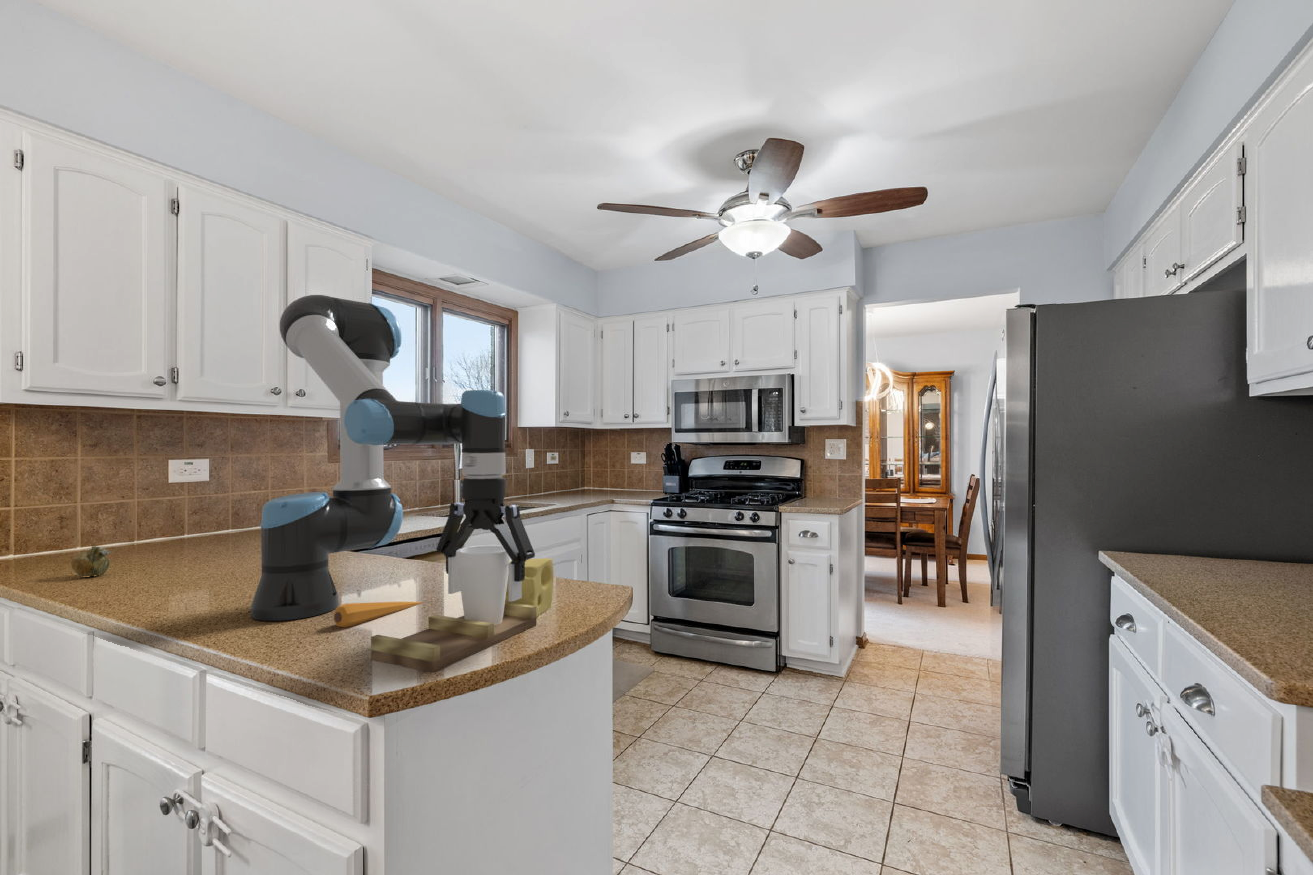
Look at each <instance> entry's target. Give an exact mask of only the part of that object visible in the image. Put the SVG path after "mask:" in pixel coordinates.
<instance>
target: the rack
mask: <svg viewBox="0 0 1313 875" xmlns="http://www.w3.org/2000/svg"><path fill="white" fill-rule="evenodd" d="M535 625H536V626H537V618H536V606H532V605H524V604H516V603H509V602H505V605H504V613H503V618H502V622H501V623H500V624H498V625H495V626H494V623H487V622H480V621H474V620H467V619H465V617H464V615H461V616H459V617H453V616H452V617H451V616H445V615H441V614H439V615H438V614H432V615H430V616H428V628H426V629H424V630H421V631H418V632H415V633H413V634H409V635H407V636H405V637H403V638H398V637H393V636H388V635H381V634H375V635H372V636H370V660H371V661H378V662H381V663H382V662H383V663H386V664H387V663H388V664H391V665H396V666H401V667H407V668H413V669H415V670H416V669H417V670H421V671H427V672H430V673H431V672H432V673H436V672H437V671H438V672H439V671H440V670H442V669H443V668H446V667H448V666H451V665H452V664H455V663H457V662H459V661H461V660H464V659H466V658H468V657H470V656H472V655H474V654H477V653H478V652H481V651H483V650H486V649H487V648H489V647H491V646H494V645H496V644H499V643H500V642H504V641H505V640H507V639H510V638H511V637H514V636H515V635H518V634H520V633H522V632H524V630H525V631H527V630H529V629H531V628H534V627H536V626H535ZM533 626H534V627H533ZM526 629H527V630H526Z"/></svg>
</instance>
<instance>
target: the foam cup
mask: <svg viewBox="0 0 1313 875" xmlns="http://www.w3.org/2000/svg"><path fill="white" fill-rule="evenodd" d="M510 562H511V558H510V557H509V555H508V554H507V552H506V551H505V549H504V547H503V546H502V544H501V545H499V544H487V545H486V544H485V545H484V544H482V545H471V546H465V547H462V548H461V549H458V550H457V551H456V565H457V567H458V574H459V581H460V589H461V591H460V595H461V601H462V609H463V616H464V617H465V619H467V620H474V621H480V622H487V623H494V626H495V625H498V624H500V623H501V622H502V618H503V613H504V605H505V597H506V589H507V581H508V563H510Z"/></svg>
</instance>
